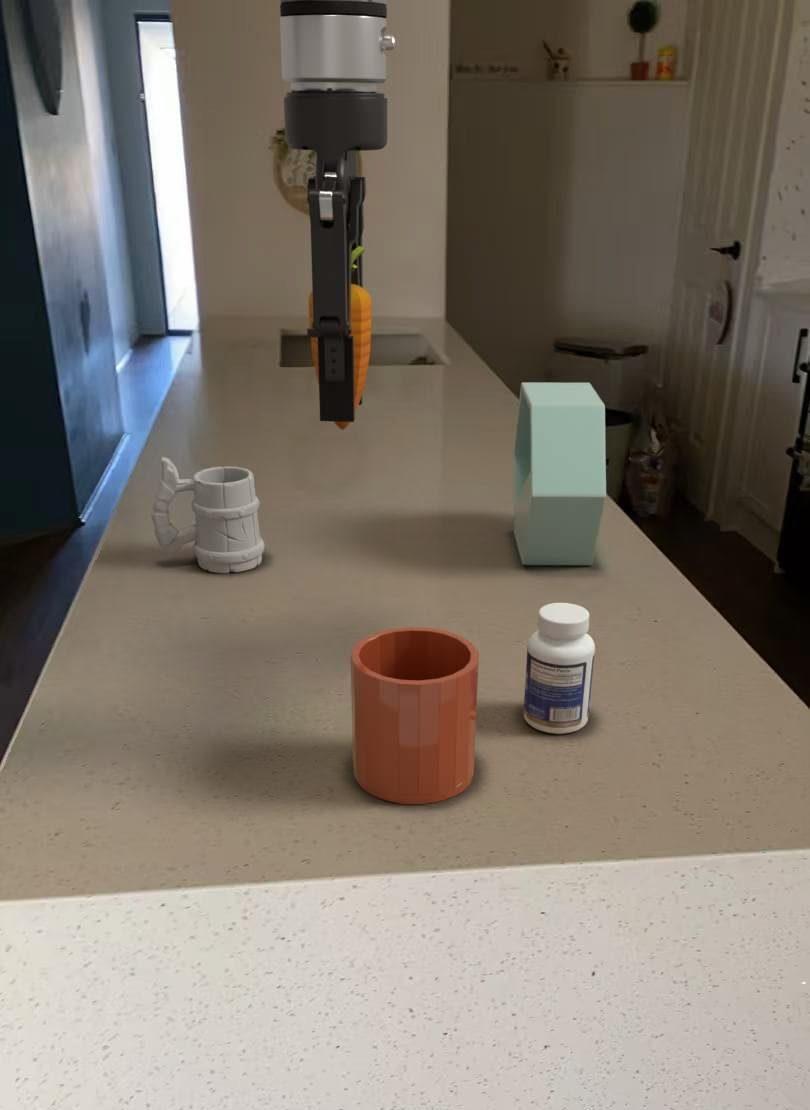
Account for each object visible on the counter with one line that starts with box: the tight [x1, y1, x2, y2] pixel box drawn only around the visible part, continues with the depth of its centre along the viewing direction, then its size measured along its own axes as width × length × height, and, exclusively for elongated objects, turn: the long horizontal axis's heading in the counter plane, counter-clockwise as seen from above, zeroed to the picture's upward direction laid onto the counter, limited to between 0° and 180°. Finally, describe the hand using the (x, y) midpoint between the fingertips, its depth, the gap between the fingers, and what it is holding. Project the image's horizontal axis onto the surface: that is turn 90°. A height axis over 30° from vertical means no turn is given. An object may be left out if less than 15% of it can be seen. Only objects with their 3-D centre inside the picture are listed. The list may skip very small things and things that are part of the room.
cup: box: [350, 626, 480, 805], centre depth 81 cm, size 9×9×10 cm
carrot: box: [308, 246, 373, 431], centre depth 87 cm, size 5×5×15 cm
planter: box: [512, 381, 607, 566], centre depth 121 cm, size 17×8×21 cm
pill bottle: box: [523, 602, 596, 735], centre depth 88 cm, size 5×5×10 cm
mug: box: [150, 456, 266, 574], centre depth 118 cm, size 8×12×12 cm, turn 101°
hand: (341, 411), depth 90 cm, fingers closed on carrot, 5 cm apart
